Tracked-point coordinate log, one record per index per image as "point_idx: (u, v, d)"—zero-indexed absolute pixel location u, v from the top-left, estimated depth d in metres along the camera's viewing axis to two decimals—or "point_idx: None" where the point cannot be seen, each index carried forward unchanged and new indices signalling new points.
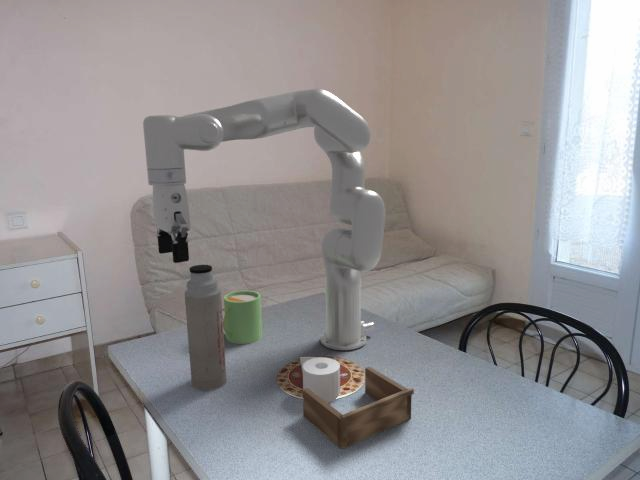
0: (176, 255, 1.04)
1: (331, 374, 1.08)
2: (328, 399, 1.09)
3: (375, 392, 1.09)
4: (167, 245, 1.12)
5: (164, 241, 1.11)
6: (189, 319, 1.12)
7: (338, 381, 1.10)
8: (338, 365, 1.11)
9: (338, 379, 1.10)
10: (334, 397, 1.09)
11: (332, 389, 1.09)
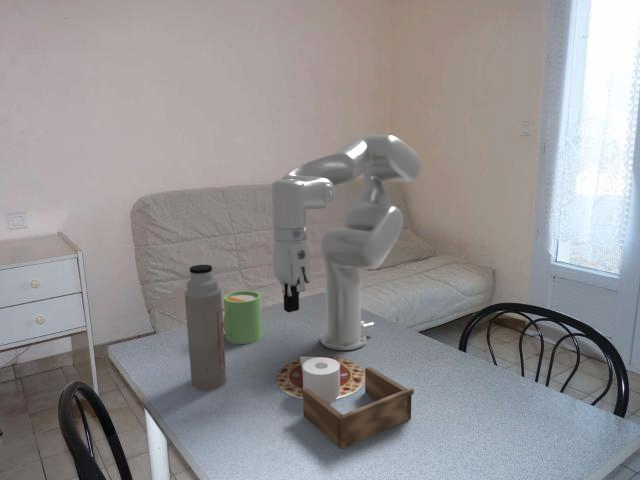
0: (289, 305, 1.18)
1: (331, 374, 1.08)
2: (328, 399, 1.09)
3: (375, 392, 1.09)
4: None
5: None
6: (189, 319, 1.12)
7: (338, 381, 1.10)
8: (338, 365, 1.11)
9: (338, 379, 1.10)
10: (334, 397, 1.09)
11: (332, 389, 1.09)
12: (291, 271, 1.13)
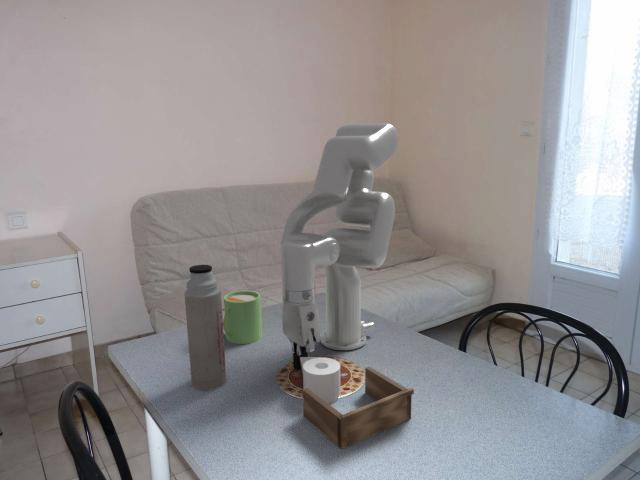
0: (298, 364, 1.19)
1: (332, 374, 1.08)
2: (329, 399, 1.08)
3: (375, 392, 1.09)
4: None
5: None
6: (189, 319, 1.12)
7: (338, 381, 1.10)
8: (338, 365, 1.11)
9: (338, 379, 1.09)
10: (335, 397, 1.09)
11: (332, 389, 1.08)
12: (300, 333, 1.13)
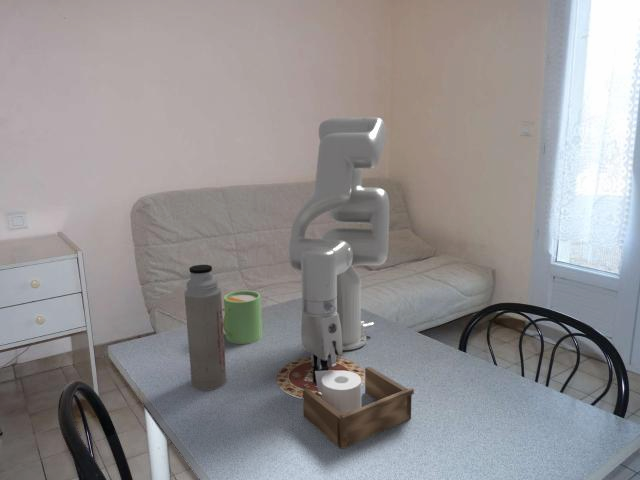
0: None
1: (354, 389, 1.01)
2: None
3: (375, 392, 1.09)
4: None
5: None
6: (189, 319, 1.12)
7: (360, 395, 1.04)
8: (359, 378, 1.05)
9: (360, 394, 1.03)
10: None
11: (355, 404, 1.02)
12: (322, 346, 1.06)
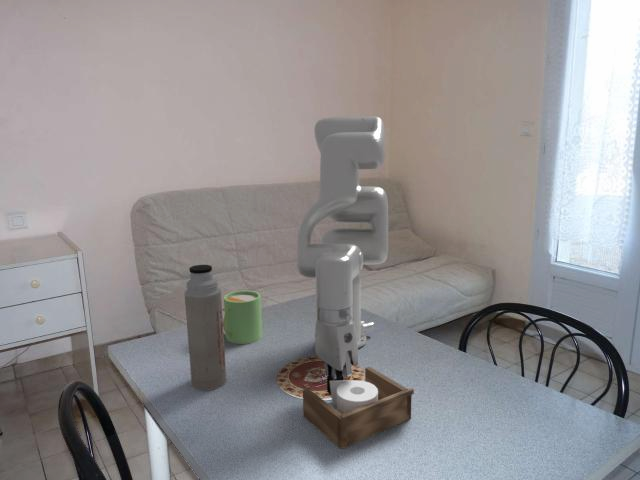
0: None
1: (371, 400, 0.97)
2: None
3: None
4: None
5: None
6: (189, 319, 1.12)
7: None
8: (376, 389, 1.00)
9: None
10: None
11: None
12: (337, 355, 1.02)
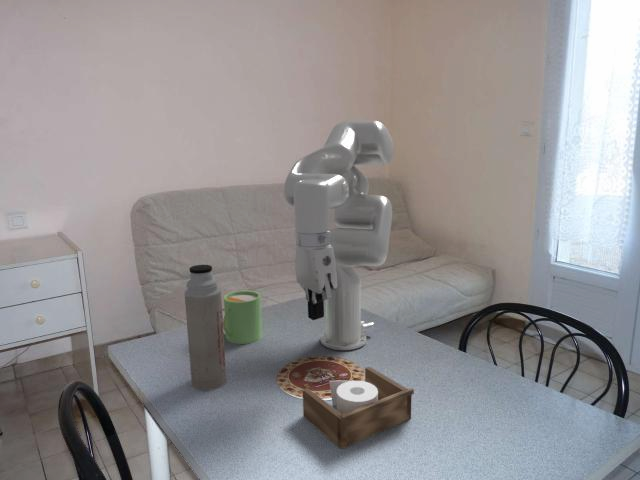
0: (314, 313, 1.11)
1: (371, 401, 0.97)
2: None
3: None
4: None
5: None
6: (189, 319, 1.12)
7: None
8: (376, 389, 1.01)
9: None
10: None
11: None
12: (316, 278, 1.06)
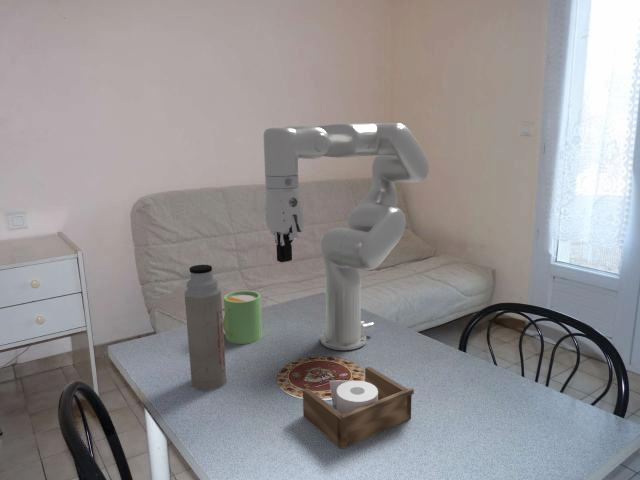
0: (282, 255, 1.18)
1: (371, 401, 0.97)
2: None
3: None
4: None
5: None
6: (189, 319, 1.12)
7: None
8: (376, 389, 1.01)
9: None
10: None
11: None
12: (283, 219, 1.13)
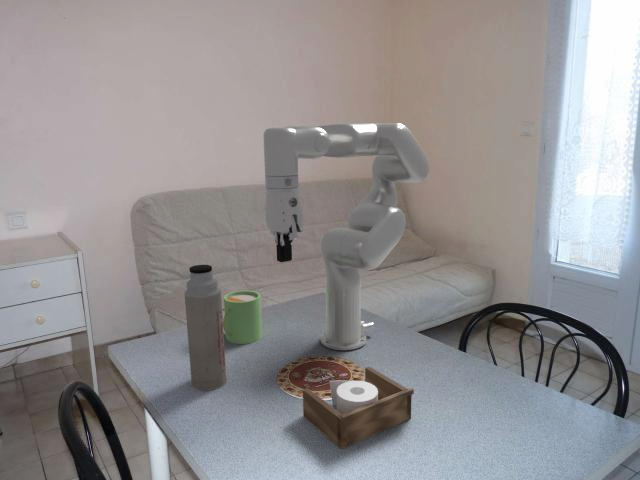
0: (282, 255, 1.18)
1: (371, 401, 0.97)
2: None
3: None
4: None
5: None
6: (189, 319, 1.12)
7: None
8: (376, 389, 1.01)
9: None
10: None
11: None
12: (283, 219, 1.13)
